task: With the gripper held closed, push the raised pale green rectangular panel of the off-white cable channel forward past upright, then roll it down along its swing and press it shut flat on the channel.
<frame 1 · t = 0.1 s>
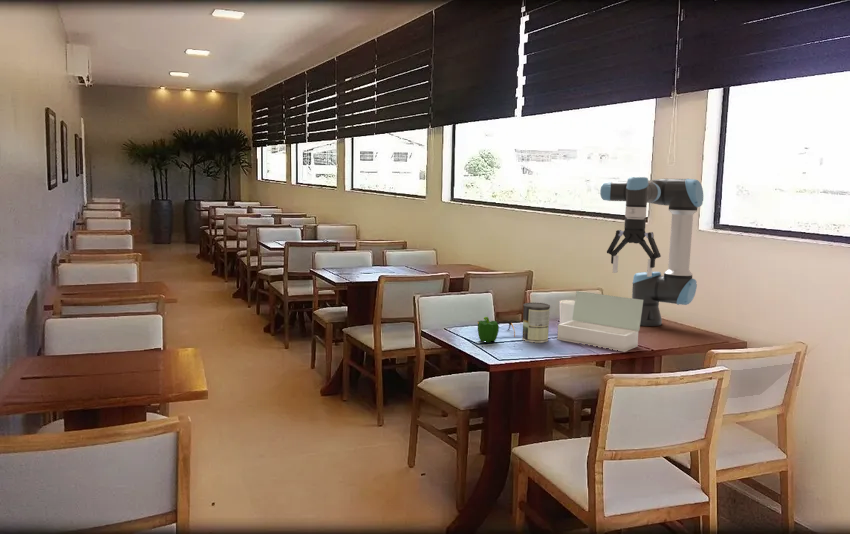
hand: (631, 274, 259), 28 cm above the table, tool pointing down, fingers open, 13 cm apart
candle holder: (569, 330, 290), on the table
coffee can: (535, 340, 270), on the table
pale green rectangular panel: (607, 310, 272), point 12 cm above the table, hinge at 100.0°
eyeglasses: (495, 334, 281), on the table
duct channel: (596, 342, 268), on the table
bell pepper: (487, 341, 266), on the table
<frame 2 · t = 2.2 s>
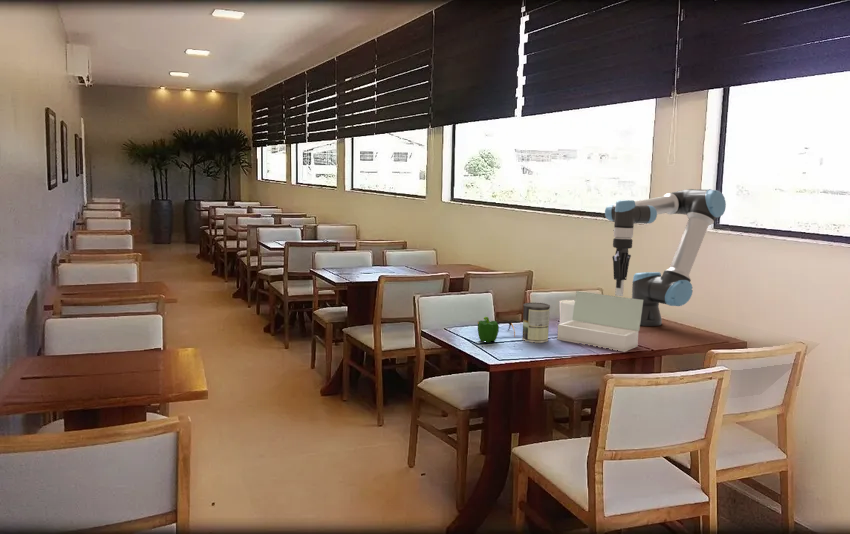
hand: (619, 295, 280), 17 cm above the table, tool pointing down, fingers closed
nothing on the table moved.
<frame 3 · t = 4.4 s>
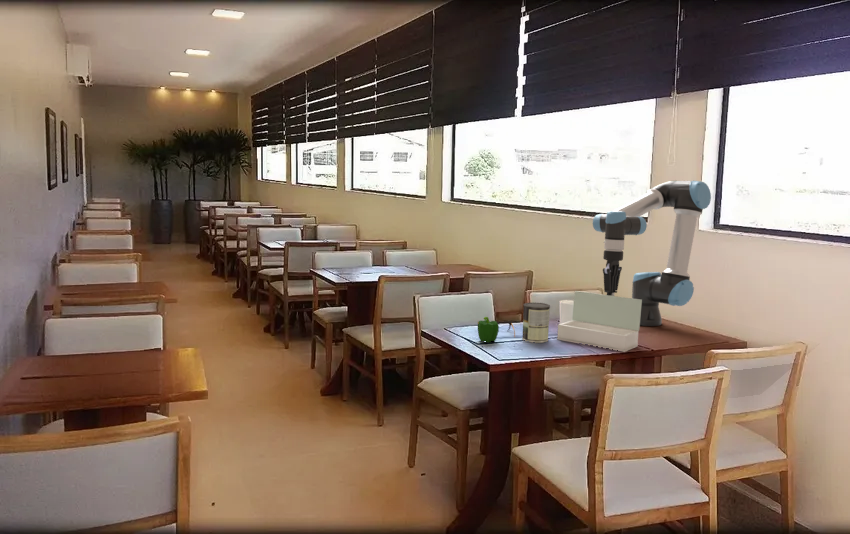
hand: (609, 308, 274), 12 cm above the table, tool pointing down, fingers closed
pale green rectangular panel: (606, 310, 271), point 12 cm above the table, hinge at 93.0°, touching gripper
everything else where it was.
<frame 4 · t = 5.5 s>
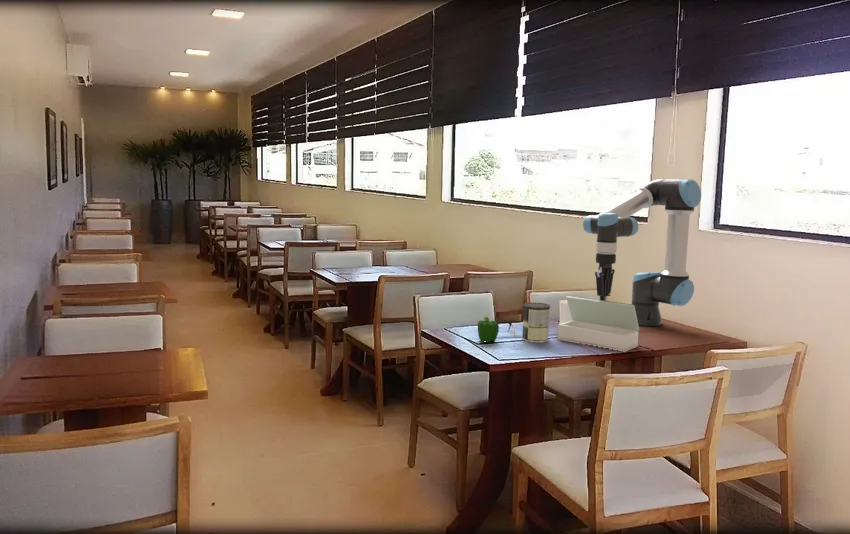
hand: (602, 312, 269), 12 cm above the table, tool pointing down, fingers closed
pale green rectangular panel: (602, 312, 269), point 12 cm above the table, hinge at 58.4°, touching gripper
everything else where it was.
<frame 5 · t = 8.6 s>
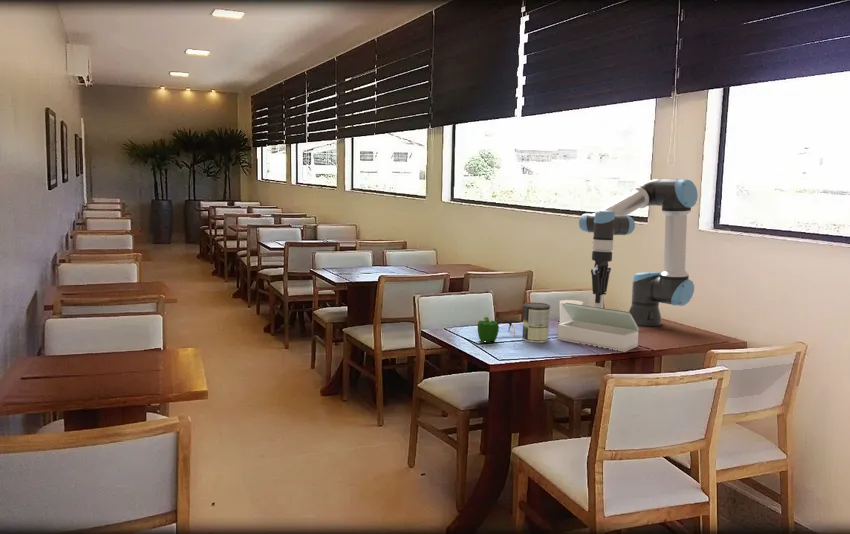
hand: (598, 311, 266), 13 cm above the table, tool pointing down, fingers closed
pale green rectangular panel: (600, 316, 268), point 10 cm above the table, hinge at 38.5°, touching gripper
everything else where it was.
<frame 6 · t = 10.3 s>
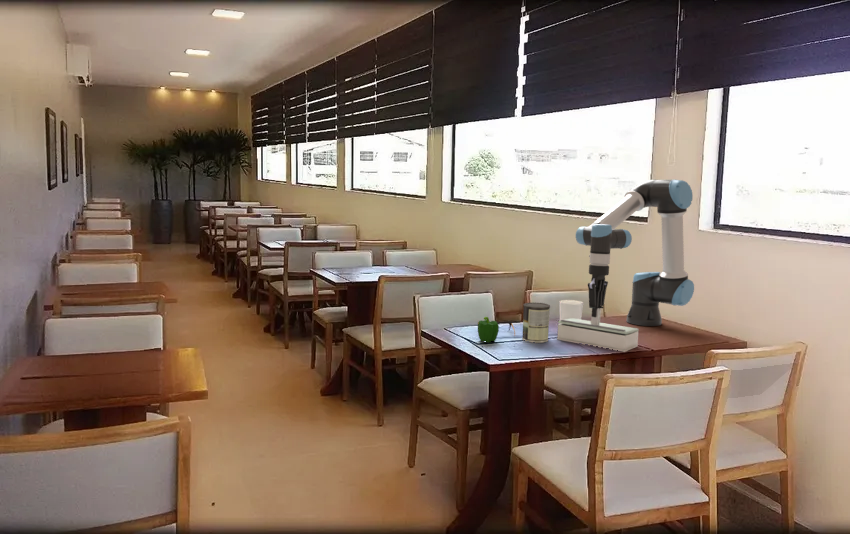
hand: (595, 324, 265), 7 cm above the table, tool pointing down, fingers closed, pressing on pale green rectangular panel
pale green rectangular panel: (597, 325, 267), point 7 cm above the table, hinge at 2.8°, touching gripper
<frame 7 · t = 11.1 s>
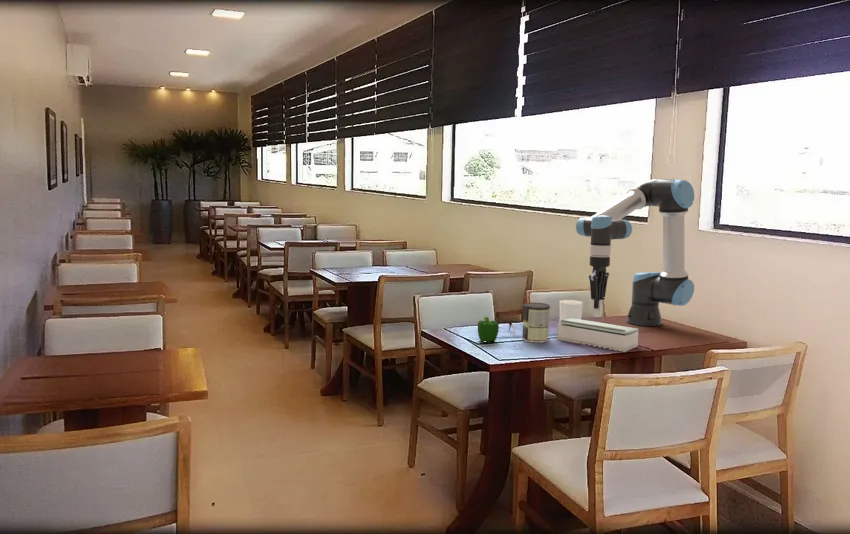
hand: (597, 316, 265), 11 cm above the table, tool pointing down, fingers closed
pale green rectangular panel: (597, 325, 267), point 7 cm above the table, hinge at 2.6°
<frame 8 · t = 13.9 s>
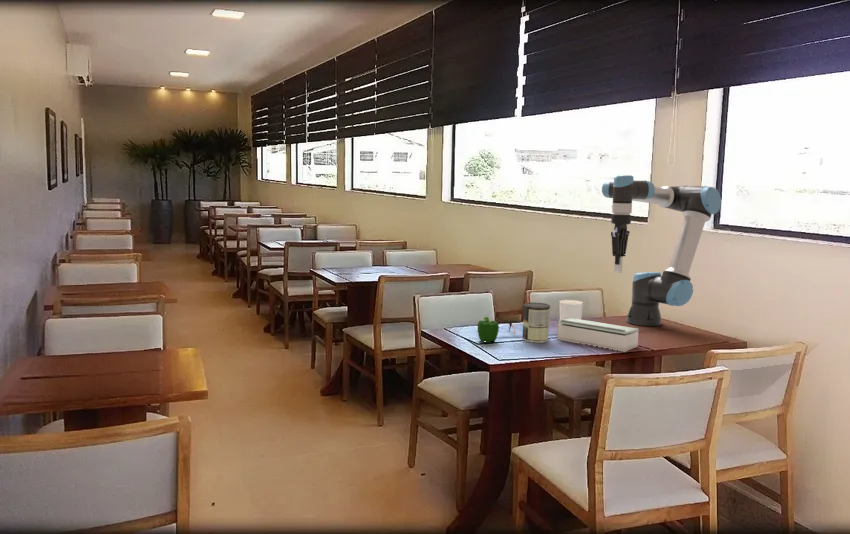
hand: (617, 272, 277), 26 cm above the table, tool pointing down, fingers closed
at the end: pale green rectangular panel at +3° (first picture: +100°) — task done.
